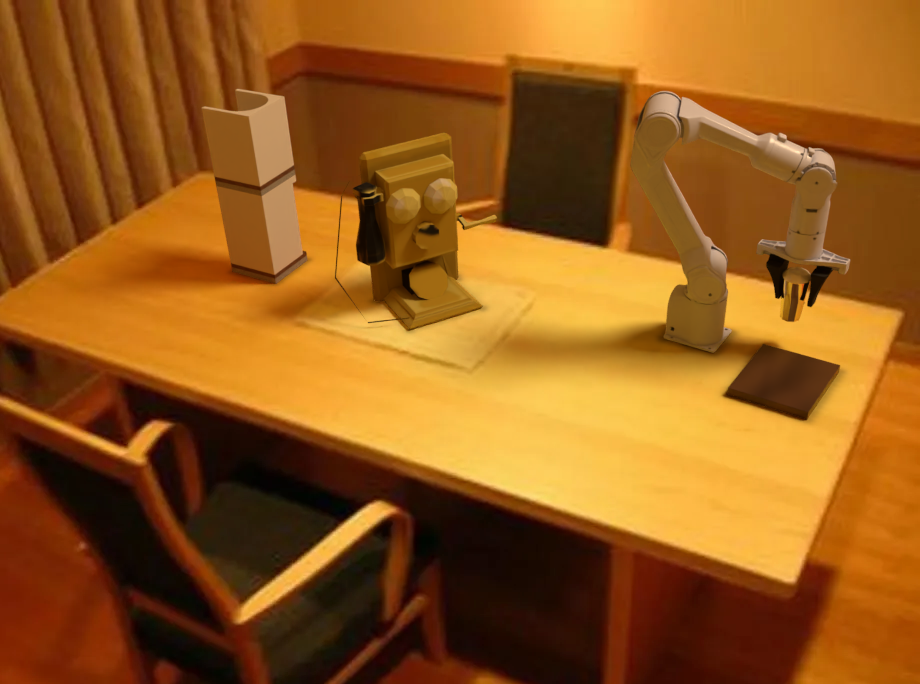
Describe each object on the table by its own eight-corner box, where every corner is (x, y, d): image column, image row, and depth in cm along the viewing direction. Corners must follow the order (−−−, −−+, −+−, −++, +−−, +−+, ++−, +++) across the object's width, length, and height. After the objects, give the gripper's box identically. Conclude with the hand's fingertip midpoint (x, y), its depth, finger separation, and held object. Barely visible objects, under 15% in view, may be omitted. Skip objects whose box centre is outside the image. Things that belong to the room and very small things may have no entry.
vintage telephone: (362, 345, 195) (345, 193, 177) (334, 310, 205) (315, 164, 188) (515, 299, 204) (512, 150, 187) (480, 268, 215) (475, 124, 197)
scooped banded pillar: (307, 260, 223) (284, 96, 203) (276, 283, 216) (248, 116, 195) (264, 249, 228) (237, 88, 208) (232, 271, 221) (201, 107, 201)
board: (727, 395, 174) (727, 387, 174) (762, 350, 184) (763, 343, 183) (807, 419, 168) (808, 412, 167) (839, 372, 177) (840, 364, 176)
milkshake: (810, 325, 180) (820, 273, 174) (776, 323, 181) (785, 271, 175) (807, 311, 183) (817, 259, 178) (774, 309, 184) (783, 258, 179)
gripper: (861, 226, 171) (847, 300, 179) (771, 207, 179) (761, 279, 186) (847, 245, 167) (833, 319, 174) (755, 224, 174) (746, 297, 182)
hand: (795, 300), depth 180 cm, fingers closed on milkshake, 5 cm apart
